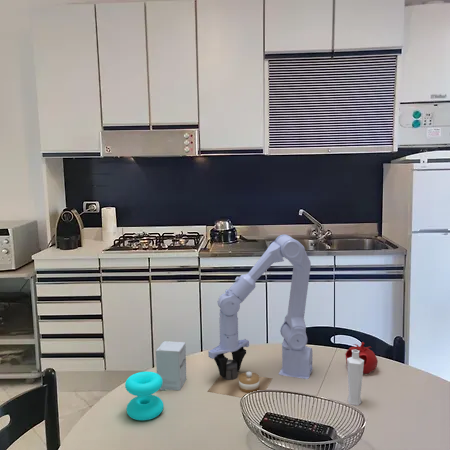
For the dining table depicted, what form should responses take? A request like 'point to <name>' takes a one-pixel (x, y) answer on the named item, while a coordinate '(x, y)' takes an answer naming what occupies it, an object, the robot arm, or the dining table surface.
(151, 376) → the donuts
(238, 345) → the robot arm
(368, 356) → the pomegranate
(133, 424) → the dining table surface
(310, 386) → the dining table surface
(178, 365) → the supplement box
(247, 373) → the jar
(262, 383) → the board
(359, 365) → the perfume bottle
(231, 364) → the cap
